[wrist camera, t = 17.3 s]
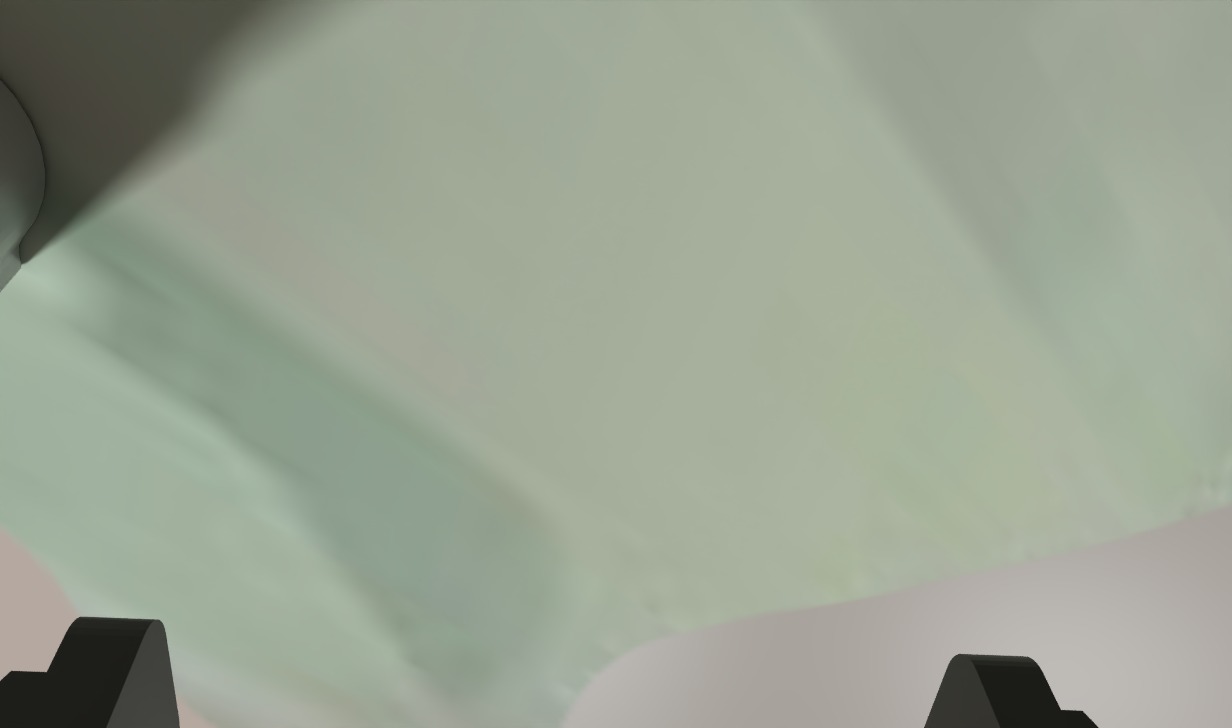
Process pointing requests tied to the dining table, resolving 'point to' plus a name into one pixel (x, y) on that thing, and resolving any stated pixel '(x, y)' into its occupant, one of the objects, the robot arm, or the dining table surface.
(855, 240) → the dining table surface
